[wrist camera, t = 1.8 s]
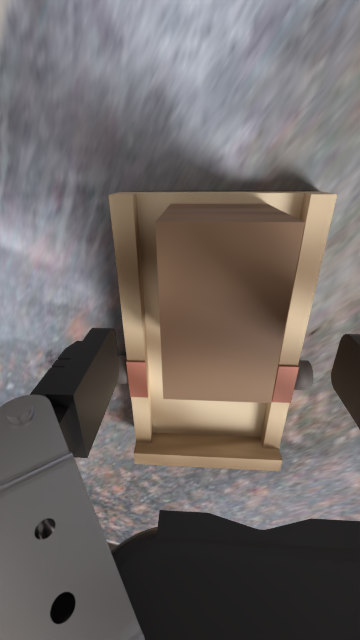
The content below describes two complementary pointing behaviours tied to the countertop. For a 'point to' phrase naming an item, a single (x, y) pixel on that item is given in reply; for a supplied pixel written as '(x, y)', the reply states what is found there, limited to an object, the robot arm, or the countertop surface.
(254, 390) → the block
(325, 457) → the countertop surface
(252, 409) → the wooden tray
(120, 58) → the countertop surface
